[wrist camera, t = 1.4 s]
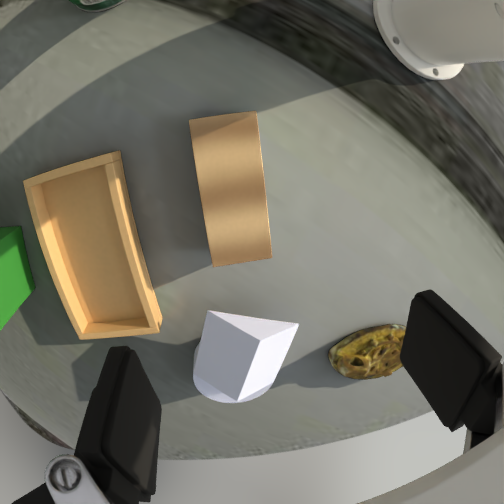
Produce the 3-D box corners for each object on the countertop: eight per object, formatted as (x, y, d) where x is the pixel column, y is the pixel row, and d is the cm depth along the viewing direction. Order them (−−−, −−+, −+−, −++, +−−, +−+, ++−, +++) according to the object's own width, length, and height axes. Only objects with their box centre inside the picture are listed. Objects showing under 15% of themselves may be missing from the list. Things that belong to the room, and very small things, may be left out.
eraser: (192, 121, 23) (188, 119, 20) (250, 113, 24) (256, 110, 20) (213, 250, 28) (213, 267, 25) (265, 242, 29) (272, 258, 25)
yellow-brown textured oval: (423, 318, 37) (334, 320, 35) (442, 333, 33) (350, 341, 30) (402, 370, 40) (316, 380, 37) (418, 388, 35) (328, 403, 33)
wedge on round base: (207, 291, 30) (189, 378, 35) (207, 332, 24) (187, 420, 28) (291, 305, 32) (258, 386, 36) (308, 345, 26) (266, 426, 30)
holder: (36, 175, 23) (22, 180, 21) (120, 150, 23) (110, 152, 21) (86, 326, 30) (79, 340, 28) (162, 318, 31) (159, 333, 28)
